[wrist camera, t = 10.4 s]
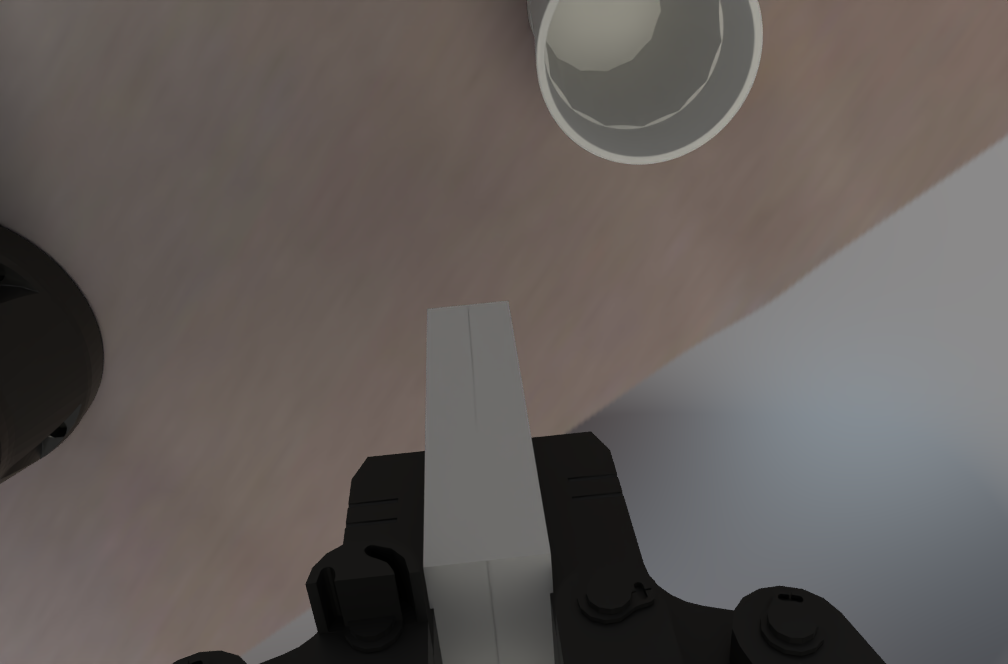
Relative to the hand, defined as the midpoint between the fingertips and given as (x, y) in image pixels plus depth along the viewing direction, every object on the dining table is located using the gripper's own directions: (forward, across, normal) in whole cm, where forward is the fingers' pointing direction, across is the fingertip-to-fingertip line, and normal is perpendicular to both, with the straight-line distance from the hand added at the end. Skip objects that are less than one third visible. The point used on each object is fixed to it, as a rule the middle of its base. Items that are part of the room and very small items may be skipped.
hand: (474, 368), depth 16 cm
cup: (+29, +7, +2) cm, 30 cm away
